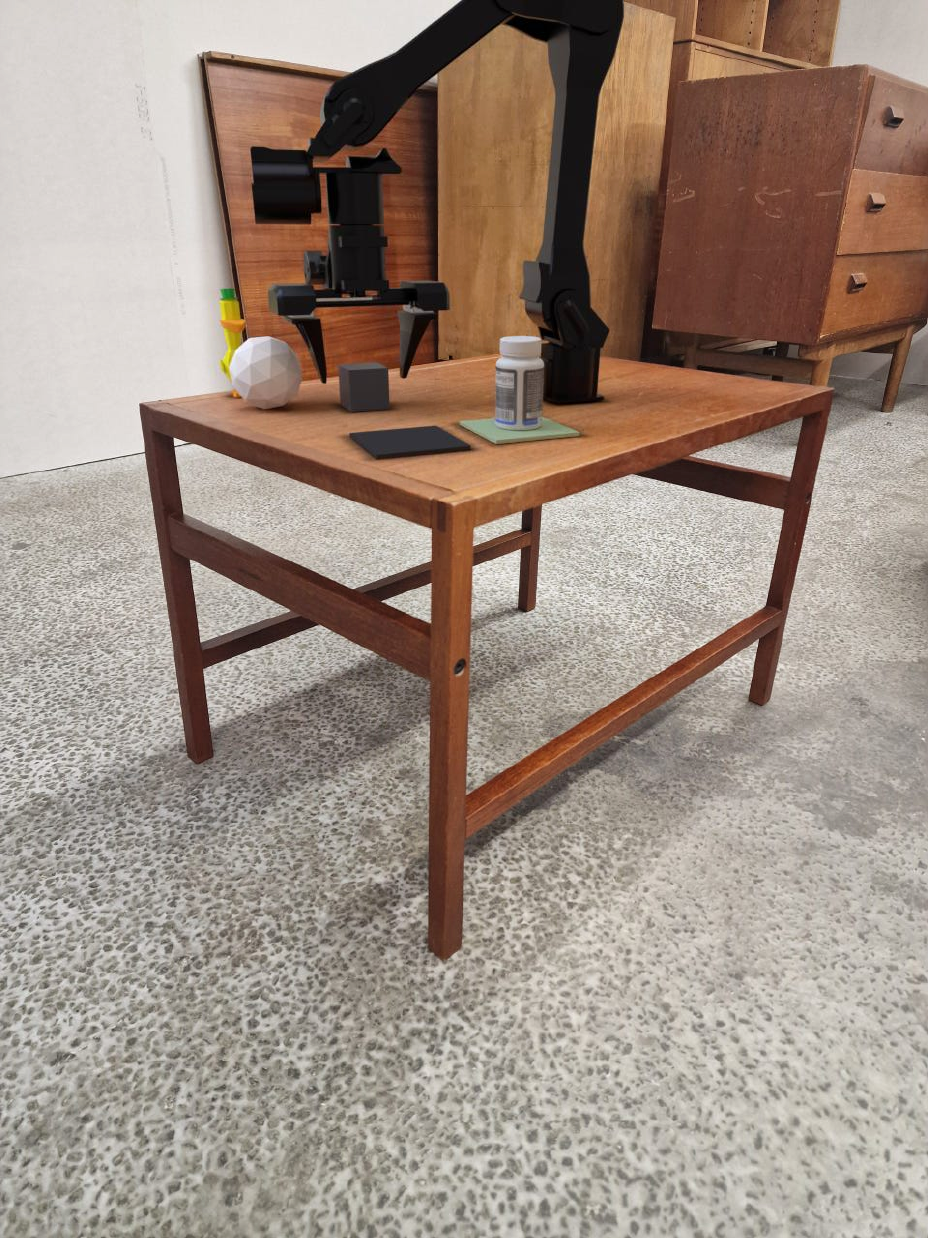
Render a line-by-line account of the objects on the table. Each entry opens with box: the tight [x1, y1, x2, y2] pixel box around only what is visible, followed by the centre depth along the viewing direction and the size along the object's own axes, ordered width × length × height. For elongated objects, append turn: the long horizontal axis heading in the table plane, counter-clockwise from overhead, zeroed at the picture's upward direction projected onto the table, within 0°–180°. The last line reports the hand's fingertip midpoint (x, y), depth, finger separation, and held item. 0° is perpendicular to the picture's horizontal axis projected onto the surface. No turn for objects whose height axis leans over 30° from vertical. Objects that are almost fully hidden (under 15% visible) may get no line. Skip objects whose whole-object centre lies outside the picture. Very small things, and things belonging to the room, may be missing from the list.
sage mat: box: [459, 416, 580, 445], centre depth 80 cm, size 9×9×1 cm
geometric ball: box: [229, 335, 303, 411], centre depth 89 cm, size 8×8×8 cm
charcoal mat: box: [348, 425, 472, 460], centre depth 75 cm, size 9×9×1 cm
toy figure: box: [219, 288, 247, 398], centre depth 94 cm, size 7×4×12 cm, turn 26°
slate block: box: [337, 361, 391, 413], centre depth 90 cm, size 4×4×4 cm
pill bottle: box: [494, 335, 544, 430], centre depth 79 cm, size 5×5×8 cm
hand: (364, 380), depth 90 cm, fingers open, 9 cm apart
